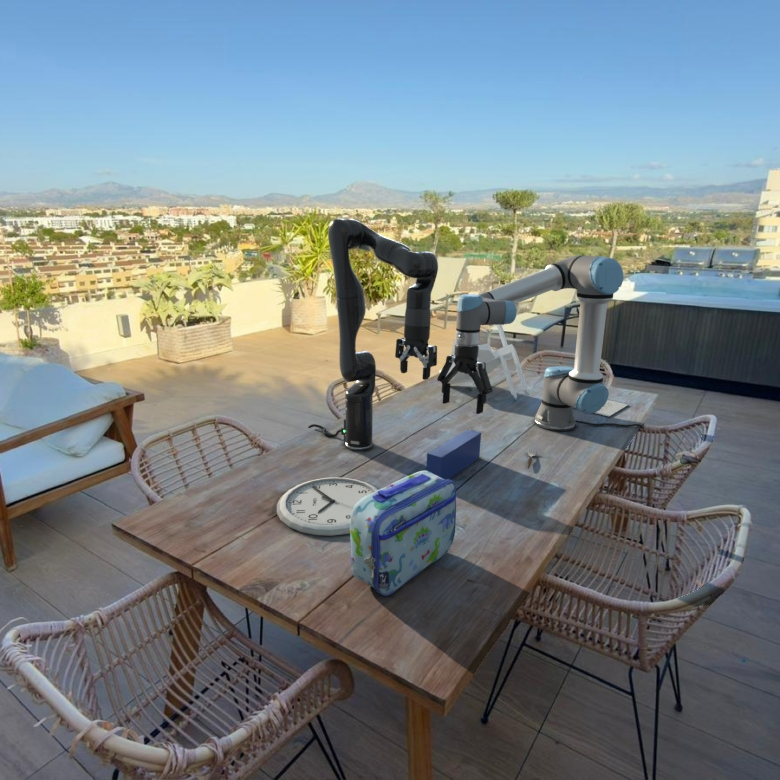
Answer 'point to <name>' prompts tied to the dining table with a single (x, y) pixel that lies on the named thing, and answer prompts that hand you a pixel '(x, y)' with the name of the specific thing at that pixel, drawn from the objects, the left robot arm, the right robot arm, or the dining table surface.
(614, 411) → the invitation card
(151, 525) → the dining table surface
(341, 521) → the wall clock
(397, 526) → the lunch box
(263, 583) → the dining table surface
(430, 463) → the bar
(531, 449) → the fork
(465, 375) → the white plastic object
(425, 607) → the dining table surface
